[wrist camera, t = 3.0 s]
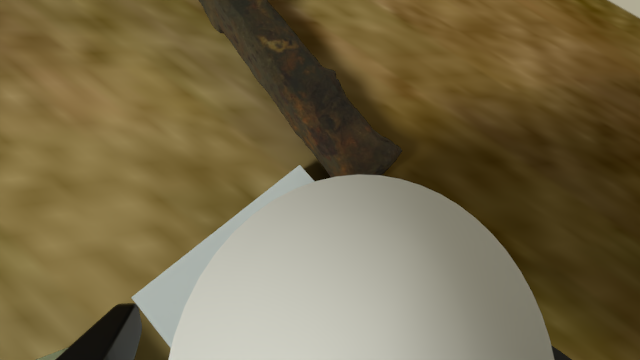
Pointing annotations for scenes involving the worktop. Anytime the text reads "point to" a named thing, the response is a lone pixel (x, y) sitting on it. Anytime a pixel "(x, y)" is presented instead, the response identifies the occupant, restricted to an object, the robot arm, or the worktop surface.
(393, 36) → the worktop surface
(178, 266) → the rectangular open frame
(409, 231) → the mushroom-shaped knob
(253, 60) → the hand tool
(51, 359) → the parts tray
